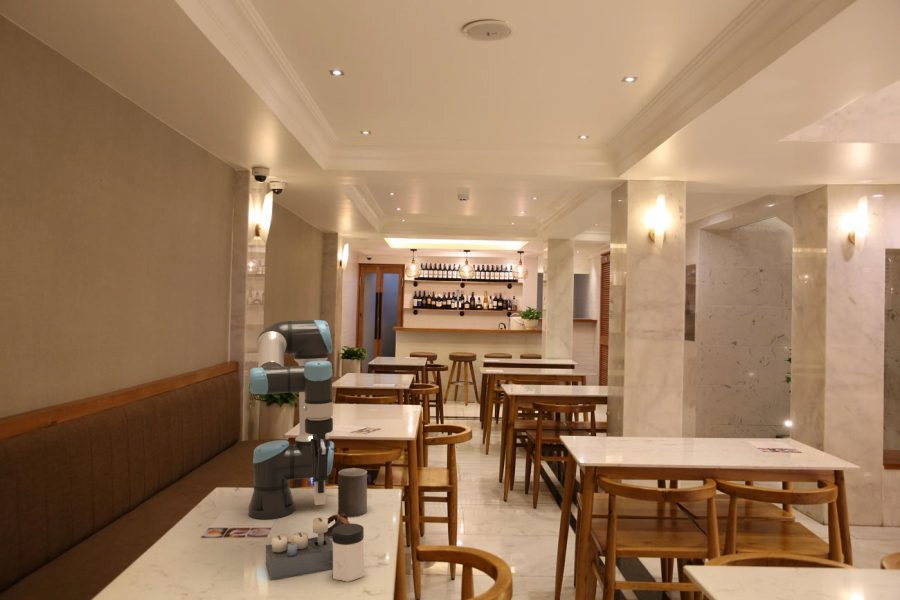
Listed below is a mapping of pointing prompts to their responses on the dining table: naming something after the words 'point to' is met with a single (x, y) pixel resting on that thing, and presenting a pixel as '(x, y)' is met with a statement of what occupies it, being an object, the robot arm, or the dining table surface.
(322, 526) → the knob right
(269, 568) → the panel
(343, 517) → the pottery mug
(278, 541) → the knob left
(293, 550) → the potentiometer
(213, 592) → the dining table surface
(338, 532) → the jar
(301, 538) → the knob middle
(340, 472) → the pillar candle
